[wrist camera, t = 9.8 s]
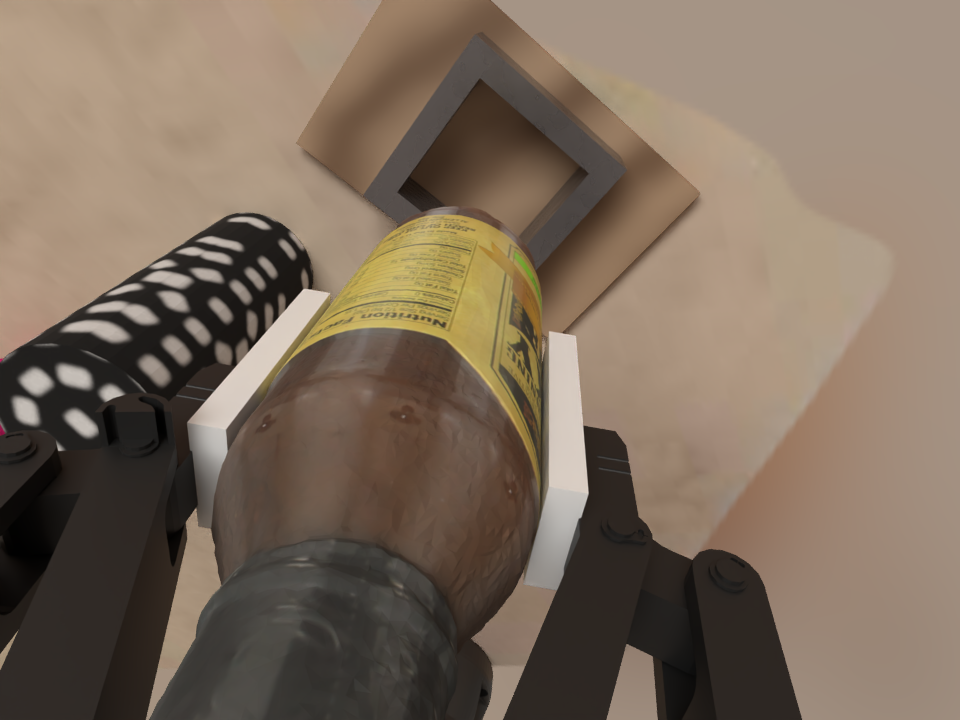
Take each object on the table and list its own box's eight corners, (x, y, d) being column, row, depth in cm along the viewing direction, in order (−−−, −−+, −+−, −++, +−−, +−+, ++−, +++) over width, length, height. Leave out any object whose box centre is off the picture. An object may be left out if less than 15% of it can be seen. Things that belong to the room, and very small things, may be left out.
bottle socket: (620, 155, 39) (627, 170, 35) (507, 281, 44) (504, 305, 40) (482, 31, 36) (475, 33, 33) (378, 179, 41) (362, 195, 38)
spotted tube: (179, 250, 46) (-46, 395, 29) (259, 189, 43) (64, 310, 26) (255, 337, 49) (95, 516, 32) (335, 285, 46) (207, 451, 29)
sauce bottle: (516, 371, 25) (437, 1204, 8) (363, 329, 25) (-81, 1090, 7) (568, 218, 22) (637, 1051, 4) (392, 168, 21) (-272, 840, 4)
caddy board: (697, 189, 40) (700, 193, 40) (552, 335, 46) (552, 342, 46) (423, -61, 35) (420, -63, 34) (301, 140, 41) (296, 143, 40)
